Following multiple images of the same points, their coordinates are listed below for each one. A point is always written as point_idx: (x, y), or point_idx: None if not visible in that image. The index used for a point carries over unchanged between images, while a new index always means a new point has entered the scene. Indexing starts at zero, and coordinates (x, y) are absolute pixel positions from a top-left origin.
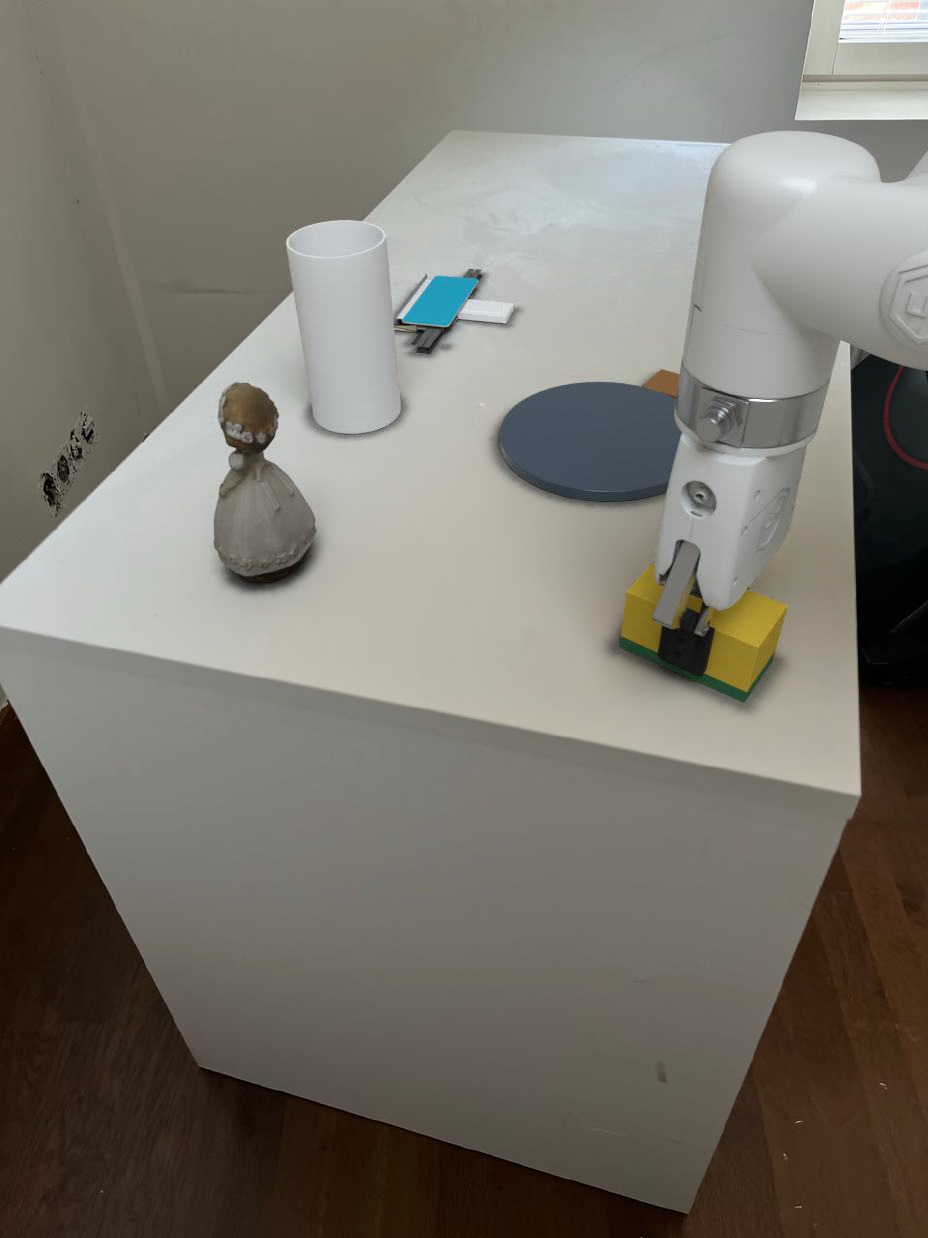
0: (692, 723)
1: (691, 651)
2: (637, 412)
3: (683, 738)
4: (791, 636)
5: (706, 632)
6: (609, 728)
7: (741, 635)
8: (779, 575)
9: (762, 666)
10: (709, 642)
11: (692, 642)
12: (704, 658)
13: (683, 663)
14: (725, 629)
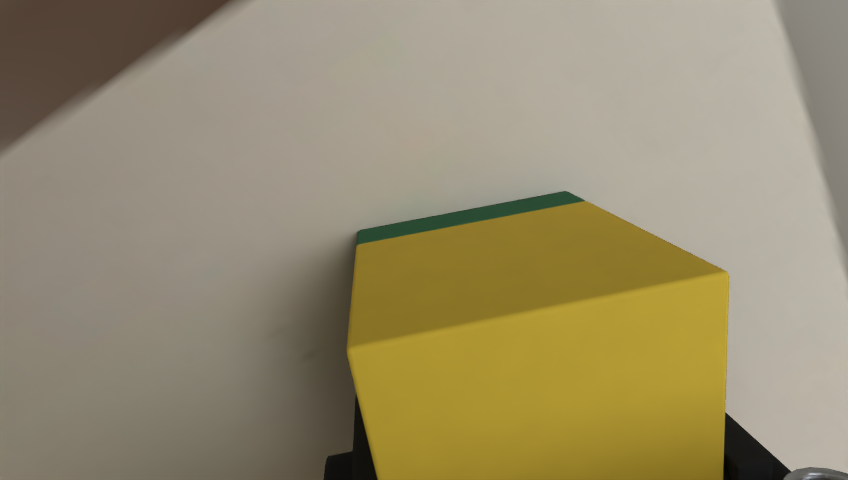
0: (715, 243)
1: (737, 425)
2: None
3: (773, 228)
4: (217, 250)
5: (797, 476)
6: (830, 364)
7: (698, 370)
8: (3, 432)
9: (485, 227)
10: (728, 421)
11: (773, 459)
12: None
13: None
14: (703, 436)
